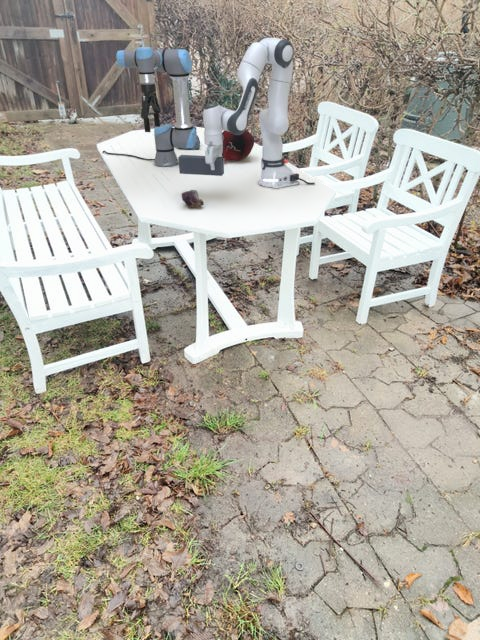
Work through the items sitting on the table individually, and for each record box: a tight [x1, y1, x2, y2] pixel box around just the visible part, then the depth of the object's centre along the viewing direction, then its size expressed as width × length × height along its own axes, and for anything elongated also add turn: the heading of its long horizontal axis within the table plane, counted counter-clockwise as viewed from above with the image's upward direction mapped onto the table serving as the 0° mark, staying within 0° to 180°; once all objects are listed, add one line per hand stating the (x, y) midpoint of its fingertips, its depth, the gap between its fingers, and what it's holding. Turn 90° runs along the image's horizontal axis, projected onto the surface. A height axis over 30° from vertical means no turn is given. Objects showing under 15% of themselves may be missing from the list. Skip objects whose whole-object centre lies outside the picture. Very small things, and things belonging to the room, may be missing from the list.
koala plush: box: [180, 120, 201, 150], centre depth 324 cm, size 17×18×20 cm
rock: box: [181, 189, 205, 208], centre depth 227 cm, size 12×9×10 cm
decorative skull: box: [221, 129, 255, 165], centre depth 297 cm, size 21×24×25 cm
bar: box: [177, 154, 225, 177], centre depth 232 cm, size 23×5×8 cm, turn 77°
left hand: (152, 129), depth 234 cm, fingers open, 13 cm apart
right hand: (214, 168), depth 231 cm, fingers closed on bar, 5 cm apart
